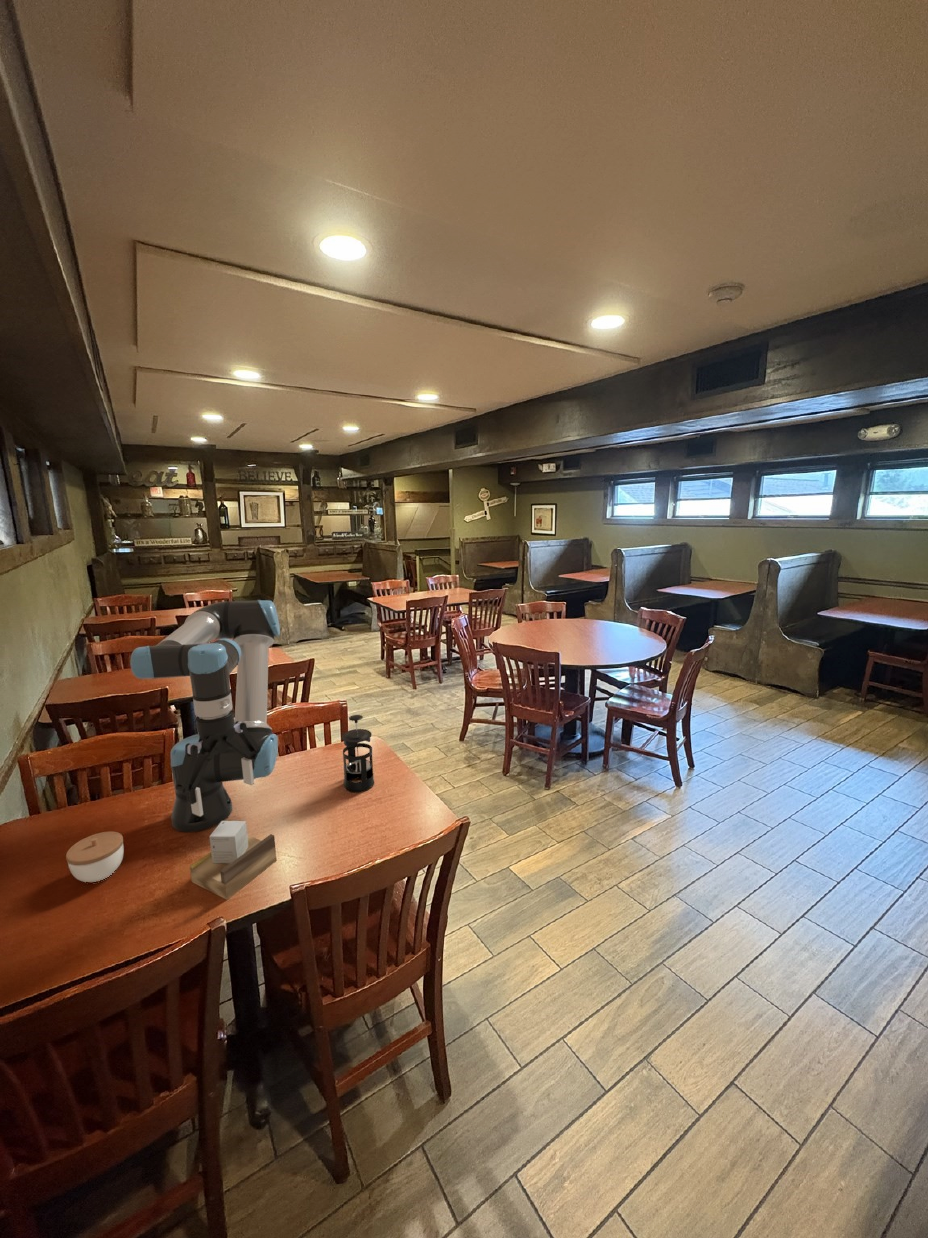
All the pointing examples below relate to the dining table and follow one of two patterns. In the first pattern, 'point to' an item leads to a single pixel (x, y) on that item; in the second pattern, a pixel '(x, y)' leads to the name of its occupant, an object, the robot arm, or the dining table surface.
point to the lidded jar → (96, 856)
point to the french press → (357, 759)
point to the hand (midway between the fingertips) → (224, 798)
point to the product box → (228, 841)
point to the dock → (234, 868)
